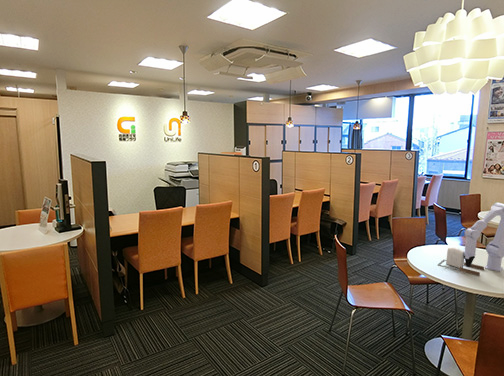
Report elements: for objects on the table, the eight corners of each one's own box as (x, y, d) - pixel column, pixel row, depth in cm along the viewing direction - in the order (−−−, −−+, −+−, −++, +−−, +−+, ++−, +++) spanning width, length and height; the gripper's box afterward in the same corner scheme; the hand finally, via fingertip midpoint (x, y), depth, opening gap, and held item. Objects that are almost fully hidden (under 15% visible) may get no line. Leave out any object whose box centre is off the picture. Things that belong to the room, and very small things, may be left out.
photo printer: (464, 267, 205) (466, 250, 203) (461, 269, 203) (462, 251, 201) (448, 262, 214) (449, 245, 212) (445, 264, 212) (446, 246, 210)
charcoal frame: (443, 259, 220) (443, 259, 220) (462, 264, 211) (462, 264, 211) (437, 265, 210) (437, 264, 210) (456, 270, 201) (456, 269, 201)
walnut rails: (464, 264, 211) (464, 262, 210) (483, 269, 203) (484, 266, 202) (458, 270, 201) (459, 267, 201) (479, 275, 193) (479, 272, 193)
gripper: (466, 242, 209) (463, 261, 211) (460, 247, 199) (458, 267, 201) (478, 245, 204) (476, 264, 206) (473, 250, 194) (471, 270, 196)
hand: (468, 266), depth 203 cm, fingers closed, pressing on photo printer
